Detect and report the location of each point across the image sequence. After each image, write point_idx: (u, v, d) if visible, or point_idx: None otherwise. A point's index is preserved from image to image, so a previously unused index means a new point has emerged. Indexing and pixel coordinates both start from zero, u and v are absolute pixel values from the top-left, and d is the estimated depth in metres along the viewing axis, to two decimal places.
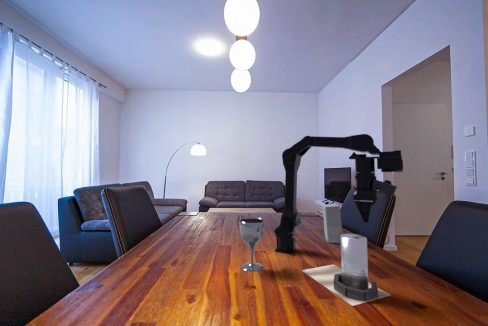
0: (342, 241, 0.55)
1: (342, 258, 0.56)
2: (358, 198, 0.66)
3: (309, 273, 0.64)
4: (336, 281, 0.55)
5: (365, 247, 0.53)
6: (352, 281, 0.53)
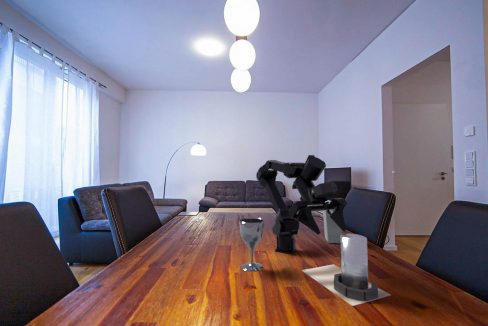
0: (342, 241, 0.55)
1: (342, 258, 0.56)
2: (291, 214, 0.66)
3: (309, 273, 0.64)
4: (336, 281, 0.55)
5: (365, 247, 0.53)
6: (352, 281, 0.53)
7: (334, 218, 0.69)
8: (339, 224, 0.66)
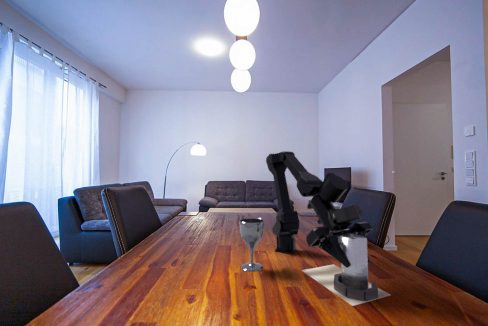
0: (342, 241, 0.55)
1: None
2: (309, 243, 0.58)
3: (309, 273, 0.64)
4: (336, 281, 0.55)
5: (365, 247, 0.53)
6: (352, 281, 0.53)
7: None
8: None
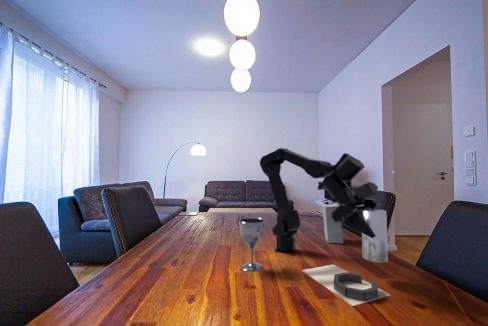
0: (366, 214, 0.60)
1: None
2: (336, 218, 0.60)
3: (309, 273, 0.64)
4: (336, 281, 0.55)
5: (386, 218, 0.59)
6: (377, 250, 0.58)
7: None
8: None
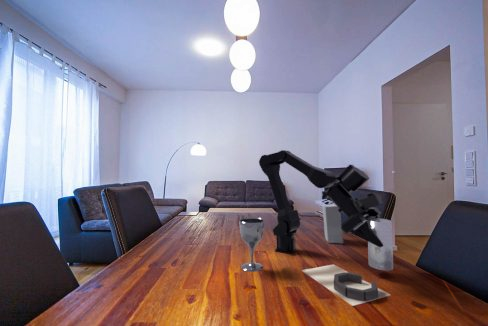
0: (373, 225, 0.62)
1: None
2: (347, 229, 0.61)
3: (309, 273, 0.64)
4: (336, 281, 0.55)
5: (391, 228, 0.62)
6: (385, 258, 0.60)
7: None
8: None
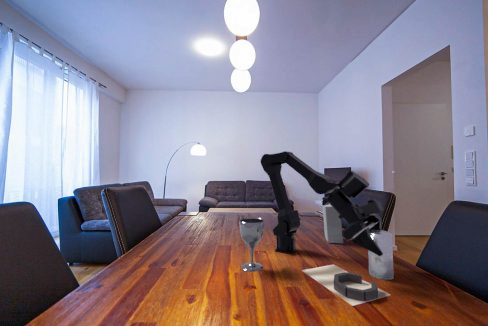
0: (373, 237, 0.62)
1: None
2: (348, 237, 0.61)
3: (309, 273, 0.64)
4: (336, 281, 0.55)
5: None
6: (385, 271, 0.60)
7: None
8: None
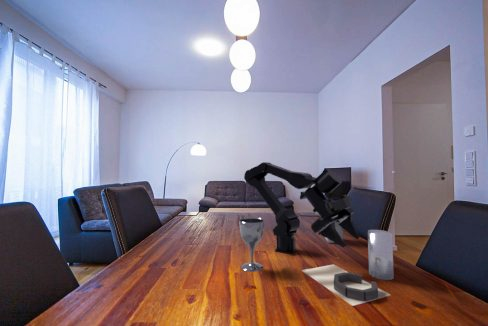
0: (374, 237, 0.62)
1: (373, 252, 0.62)
2: (315, 230, 0.68)
3: (309, 273, 0.64)
4: (336, 281, 0.55)
5: None
6: (385, 271, 0.60)
7: (345, 227, 0.75)
8: (351, 232, 0.73)
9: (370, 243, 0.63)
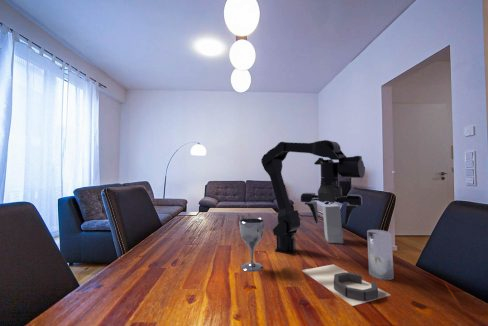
0: (373, 237, 0.62)
1: (373, 252, 0.62)
2: None
3: (309, 273, 0.64)
4: (336, 281, 0.55)
5: (391, 240, 0.62)
6: (385, 271, 0.60)
7: None
8: None
9: (370, 243, 0.63)
